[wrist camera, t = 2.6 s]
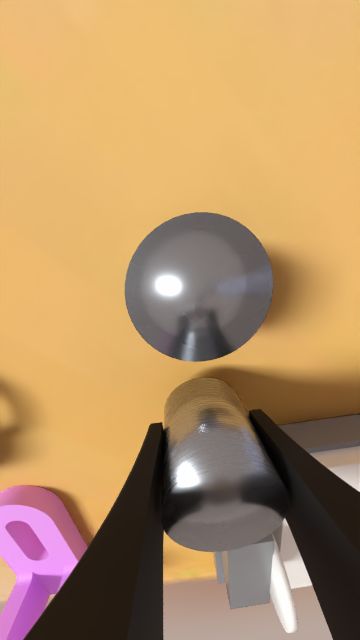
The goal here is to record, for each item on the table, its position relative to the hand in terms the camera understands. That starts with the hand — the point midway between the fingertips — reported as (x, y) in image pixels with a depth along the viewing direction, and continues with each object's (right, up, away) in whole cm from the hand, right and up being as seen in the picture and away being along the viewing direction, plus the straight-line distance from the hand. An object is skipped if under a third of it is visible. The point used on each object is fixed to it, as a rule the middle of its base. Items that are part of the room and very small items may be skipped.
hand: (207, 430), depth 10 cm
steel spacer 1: (-1, +8, 0) cm, 9 cm away
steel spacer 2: (0, 0, +1) cm, 1 cm away
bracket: (-14, -13, +7) cm, 20 cm away
